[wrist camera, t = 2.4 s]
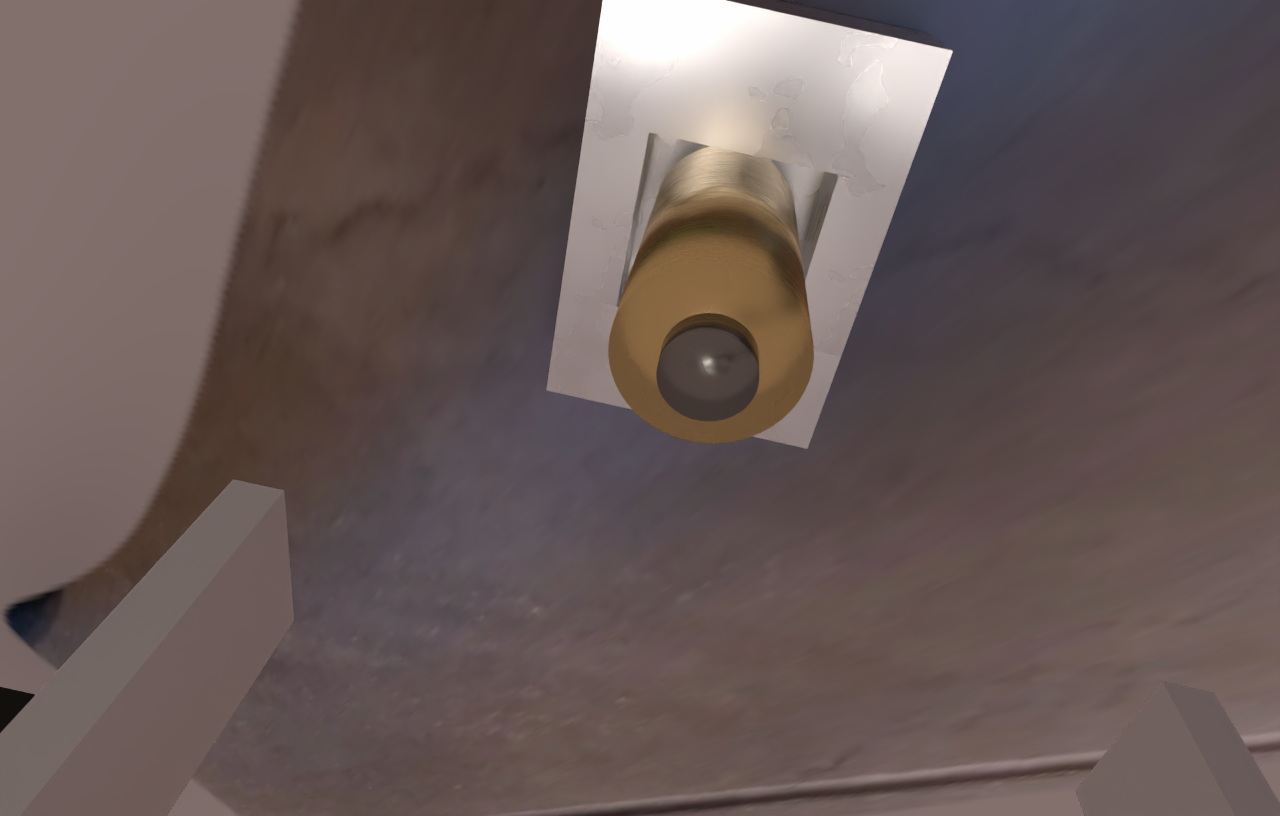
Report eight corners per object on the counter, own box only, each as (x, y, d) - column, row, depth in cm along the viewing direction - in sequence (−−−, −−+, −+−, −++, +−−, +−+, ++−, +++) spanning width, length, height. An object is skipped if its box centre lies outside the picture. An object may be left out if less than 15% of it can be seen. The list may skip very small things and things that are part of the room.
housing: (625, -34, 26) (606, -27, 23) (927, 33, 26) (953, 50, 23) (567, 342, 34) (546, 390, 30) (802, 394, 34) (807, 448, 30)
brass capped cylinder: (670, 130, 28) (621, 255, 18) (812, 162, 28) (846, 305, 18) (643, 264, 30) (587, 440, 20) (773, 293, 30) (782, 484, 20)
